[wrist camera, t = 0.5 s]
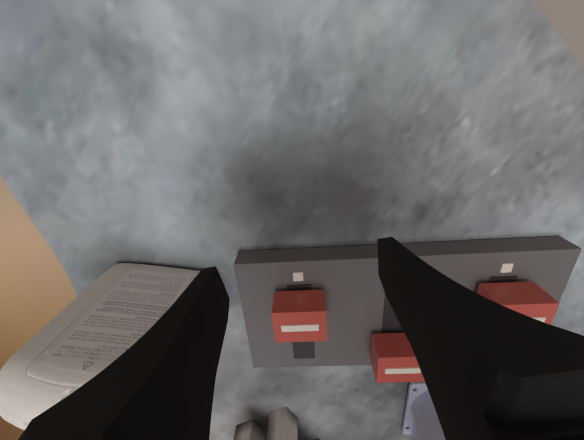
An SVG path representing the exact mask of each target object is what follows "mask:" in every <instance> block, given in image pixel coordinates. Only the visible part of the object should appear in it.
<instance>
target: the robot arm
mask: <svg viewBox="0 0 584 440" xmlns="http://www.w3.org/2000/svg"><path fill="white" fill-rule="evenodd" d="M378 275H379V278H380V281H381V283H382V286H383V289H384V292H385V295H386V297H387V299H388V301H389V303H390V305H391V307H392V309H393V311H394V313H395V315H396V317H397V319H398V321H399V323H400V325H401V327H402V329H403V331H404V333H405V335H406V337H407V339H408V341H409V343H410V345H411V347H412V350H413V352H414V354H415V357H416V360H417V362H418V365H419V367H420V370H421V372H422V375H423V378H424V380H425V382H410V383H409V388H408V395H407V401H406V407H405V413H404V419H403V425H402V432H403V434H404V435H412V438H413V440H584V336H582V335H579V334H576V333H573V332H570V331H567V330H564V329H561V328H558V327H555V326H552V325H550V324H547V323H544V322H542V321H539V320H536V319H534V318H531V317H529V316H526V315H524V314H521V313H519V312H516V311H514V310H512V309H509V308H507V307H505V306H503V305H500V304H498V303H496V302H494V301H492V300H489V299H487V298H485V297H483V296H481V295H479V294H477V293H475V292H474V291H472V290H470V289H468V288H466V287H464V286H462V285H461V284H459V283H457V282H455V281H454V280H452V279H450V278H449V277H447V276H446V275H444V274H442V273H441V272H439V271H438V270H436V269H435V268H433V267H432V266H430V265H429V264H427V263H426V262H425V261H423V260H422V259H420V258H419V257H418V256H416V255H415V254H414V253H412V252H411V251H410V250H408V249H407V248H406V247H404V246H403V245H402V244H401V243H399V242H398V241H397V240H395V239H394V238H393V237H388V238H382V239H378ZM228 312H229V296H228V294H227V292H226V289H225V287H224V285H223V282H222V280H221V277H220V275H219V273H218V270H217V268H216V267H210V268H204V269H202V270H201V271H200V272H199V273H198V275H197V276H196V277H195V278H194V279H193V281H192V282H191V283H190V284H189V285H188V287H187V288H186V289H185V290H184V292H183V293H182V294H181V295H180V296H179V297H178V299H177V300H176V301H175V302H174V303H173V304H172V306H171V307H170V308H169V309H168V310H167V311H166V312H165V313H164V314H163V315H162V317H161V318H160V319H159V320H158V321H157V322H156V323H155V324H154V325H153V326H152V327H151V328H150V329H149V330H148V331H147V332H146V333H145V334H144V335H143V336H142V337H141V338H140V339H139V340H138V341H137V342H135V343H134V344H133V345H132V346H131V347H130V348H129V349H128V350H126V351H125V352H124V353H123V354H122V355H120V356H119V357H118V358H117V359H116V360H115V361H113V362H112V363H111V364H110V365H109V366H107V367H106V368H105V369H104V370H102V371H101V372H100V373H98V374H97V375H96V376H95V377H93V378H92V379H91V380H89V381H88V382H86V383H85V384H84V385H82V386H81V387H80V388H78V389H77V390H75V391H74V392H73V393H71V394H70V395H68V396H67V397H65V398H64V399H62V400H61V401H59V402H58V403H56V404H55V405H53V406H52V407H50V408H49V409H47V410H46V411H44V412H43V413H41V414H40V415H38V416H37V417H35V418H34V419H32V420H31V421H30V423H29V424H28V426H27V427H26V429H25V430H24V432H23V433H22V435H21V436H20V438H19V439H18V440H209V433H210V422H211V412H212V402H213V394H214V385H215V378H216V372H217V367H218V363H219V358H220V353H221V349H222V344H223V340H224V335H225V331H226V326H227V321H228Z"/></svg>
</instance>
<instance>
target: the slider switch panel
mask: <svg viewBox="0 0 584 440" xmlns="http://www.w3.org/2000/svg"><path fill="white" fill-rule="evenodd" d="M401 244H402V245H403V246H404V247H406V248H407V249H408V250H410V251H411V252H412V253H414V254H415V255H416V256H418V257H419V258H420V259H422V260H423V261H425V262H426V263H427V264H429V265H430V266H432V267H433V268H435V269H436V270H438V271H439V272H441V273H442V274H444V275H446V276H447V277H449V278H450V279H452V280H454V281H455V282H457V283H459V284H461V285H462V286H464V287H466V288H468V289H470V290H472V291H474V292H475V293H477V290H478V286H479V283H504V282H529V281H533V282H535V283H536V284H537V285H538V286H539V287H541V288H542V289H543V290H544V291H546V292H547V293H548V294H549V295H550V296H552V297H553V298H554V299H555V300H557V301H558V302H559V300H560V298H561V296H562V293H563V291H564V289H565V286H566V284H567V282H568V279H569V277H570V275H571V272H572V270H573V268H574V265H575V263H576V261H577V259H578V256H579V254H580V252H581V248H579V247H578V246H576V245H574V244H572V243H571V242H569V241H567V240H565V239H563V238H562V237H560V236H545V237H524V238H503V239H482V240H461V241H440V242H420V243H401ZM234 267H235V273H236V278H237V283H238V288H239V293H240V298H241V304H242V309H243V314H244V319H245V324H246V329H247V335H248V340H249V345H250V350H251V355H252V360H253V366H254V367H295V366H339V365H372V364H371V360H370V349H371V334H375V333H404V331H403V329H402V327H401V325H400V323H399V321H398V319H397V317H396V315H395V313H394V311H393V309H392V307H391V305H390V303H389V301H388V299H387V297H386V295H385V292H384V289H383V286H382V283H381V281H380V278H379V275H378V245H357V246H336V247H315V248H294V249H273V250H253V251H239V253H238V255H237V258H236V260H235V263H234ZM299 290H324V295H325V303H326V315H327V341H312V342H276V343H275V335H274V328H273V321H272V314H271V313H272V305H273V298H274V291H299Z"/></svg>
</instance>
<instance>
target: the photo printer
mask: <svg viewBox="0 0 584 440" xmlns="http://www.w3.org/2000/svg"><path fill="white" fill-rule="evenodd" d="M199 272H200V271H195V270H188V269H180V268H172V267H163V266H153V265H145V264H133V263H118V264H114V265H113V266H111V267H110V268H109V269H107V270H106V271H105V272H104V273H103V274H102V275H101V276H100V277H99V278H98V279H96V280H95V281H94V282H93V283H92V284H91V285H90V286H89V287H88V288H87V289H85V290H84V291H83V292H82V293H81V294H80V295H79V296H78V297H77V298H76V299H75V300H73V301H72V302H71V303H70V304H69V305H68V306H67V307H66V308H65V309H64V310H62V311H61V312H60V313H59V314H58V315H57V316H56V317H55V318H53V319H52V320H51V321H50V322H49V323H48V324H47V325H46V326H45V327H43V328H42V329H41V331H39V332H38V333H37V334H36V335H35V336H34V337H33V338H31V339H30V340H29V341H28V342H27V343H26V344H25V345H24V346H22V347H21V348H20V349H19V350H18V351H17V352H16V353H15V354H14V355H13V356H12V357H11V358H10V359H9V360H8V361H7V362H6V364H5V365H4V366H3V367H2V369H1V370H0V416H1V417H2V418H3V419H4V420H6V421H7V422H9V423H11V424H13V425H14V426H16V427H18V428H21V429H23V430H25V429H26V427H27V426H28V424H29V423H30V421H31V420H32V419H34V418H35V417H37V416H38V415H40V414H41V413H43V412H44V411H46V410H47V409H49V408H50V407H52V406H53V405H55V404H56V403H58V402H59V401H61V400H62V399H64V398H65V397H67V396H68V395H70V394H71V393H73V392H74V391H75V390H77V389H78V388H80V387H81V386H82V385H84V384H85V383H86V382H88V381H89V380H91V379H92V378H93V377H95V376H96V375H97V374H98V373H100V372H101V371H102V370H104V369H105V368H106V367H107V366H109V365H110V364H111V363H112V362H113V361H115V360H116V359H117V358H118V357H119V356H120V355H122V354H123V353H124V352H125V351H126V350H128V349H129V348H130V347H131V346H132V345H133V344H134V343H135V342H137V341H138V340H139V339H140V338H141V337H142V336H143V335H144V334H145V333H146V332H147V331H148V330H149V329H150V328H151V327H152V326H153V325H154V324H155V323H156V322H157V321H158V320H159V319H160V318H161V317H162V315H163V314H164V313H165V312H166V311H167V310H168V309H169V308H170V307H171V306H172V304H173V303H174V302H175V301H176V300H177V299H178V297H179V296H180V295H181V294H182V293H183V292H184V290H185V289H186V288H187V287H188V285H189V284H190V283H191V282H192V281H193V279H194V278H195V277H196V276H197V275H198V273H199Z"/></svg>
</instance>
